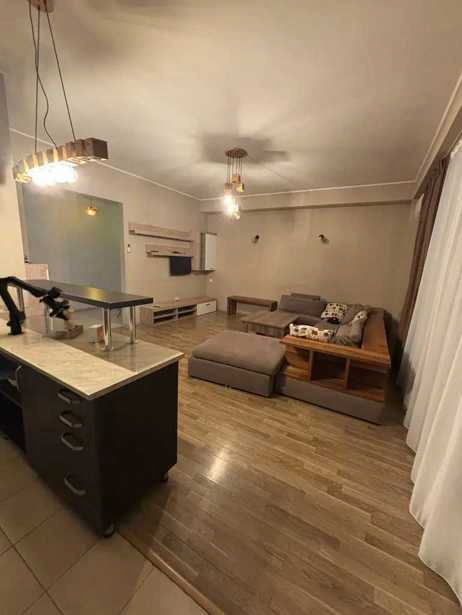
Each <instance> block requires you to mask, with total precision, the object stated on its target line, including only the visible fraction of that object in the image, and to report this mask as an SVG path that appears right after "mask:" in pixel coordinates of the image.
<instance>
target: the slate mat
mask: <svg viewBox="0 0 462 615" xmlns="http://www.w3.org/2000/svg"><path fill="white" fill-rule="evenodd" d="M55 331H56V330H55ZM55 331H53V330H52V331H50V332H48V333H46V334H44V335H41V338H56V332H55Z"/></svg>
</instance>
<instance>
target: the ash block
mask: <svg viewBox="0 0 462 615" xmlns="http://www.w3.org/2000/svg"><path fill="white" fill-rule="evenodd" d="M75 312H76V310H75V309H69V310H65V311H63V314H64V315H65V316H66V317H67V318H68V319H69V320H68V321H66V320H63V328H64V329H63V330H68V329H74V328H75V325H76V315H75V314H76V313H75Z"/></svg>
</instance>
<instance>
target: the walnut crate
mask: <svg viewBox="0 0 462 615" xmlns="http://www.w3.org/2000/svg"><path fill="white" fill-rule="evenodd" d="M55 332H56V337H55V339H62V340H63V339H67V340H73V339H75V338H76V337H78V336H79V335H80V334H82V333H83V332H84V324H75V328H74V329H67V330H55Z"/></svg>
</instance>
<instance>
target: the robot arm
mask: <svg viewBox="0 0 462 615" xmlns="http://www.w3.org/2000/svg"><path fill="white" fill-rule="evenodd" d="M8 284H12V285H15V286H17V287H19V288H21V289H23V290H25V291H27V292H28V293H29V294H30V295H31V296H32V297H34V298H37V299H39V300H38V303H39V304H42V303H44V304H45V305H46V306H47V308H48V309H49V310H51V311H50V313H49V314H48V316H49V318H57V319H60V320H63V321H64V320H66V321H68V320H69V319H68V318H67V317H66V316H65V315H64V314H63V311H65V310H70V308H71V305H70V300H69V299H68V300H69V301H68V300H65V299H66V298H64V299H62V301H59V300H58V301H57V299H59V298H60V297H61V296H60V292H63V293H64V291H63V290H62V289H60V288H58V287H56V286H53V287H52V288H50V289H49V290H46V289H45V288H43V287H40V286H35V285H33V284H30V283H28V282H27V281H25V280H22V279H21V278H18V277H16V276H15V275H9V276H6V277H0V298H1V299H2V302H3V303H4V305H5V307H6V309H7V310H8V318H9V320H8V321H6V324H5V325H6V327H9V330H10V332H8V333H7V334H8V335H12V336H18V335H21V334H22V335H23V334H25V331H23V328H22V324H24V322H25V321H26V319H27V314H26V313H25V311H24V310H20V309H19V308H18V307H17V304H16V303H15V301H14V299H13V297H12V295H11V293H10V292H9V290H8V289H9V288H8V287H9V285H8Z"/></svg>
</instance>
